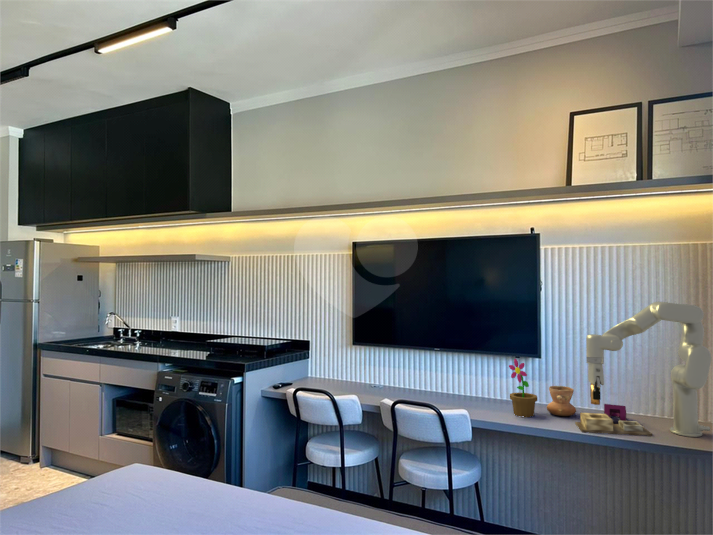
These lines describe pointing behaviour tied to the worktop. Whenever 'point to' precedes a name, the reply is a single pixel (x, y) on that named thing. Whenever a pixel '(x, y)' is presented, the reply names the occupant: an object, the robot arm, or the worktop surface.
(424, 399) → the worktop surface
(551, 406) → the ceramic jug
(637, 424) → the docking station
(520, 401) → the flowerpot
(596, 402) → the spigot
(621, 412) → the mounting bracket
